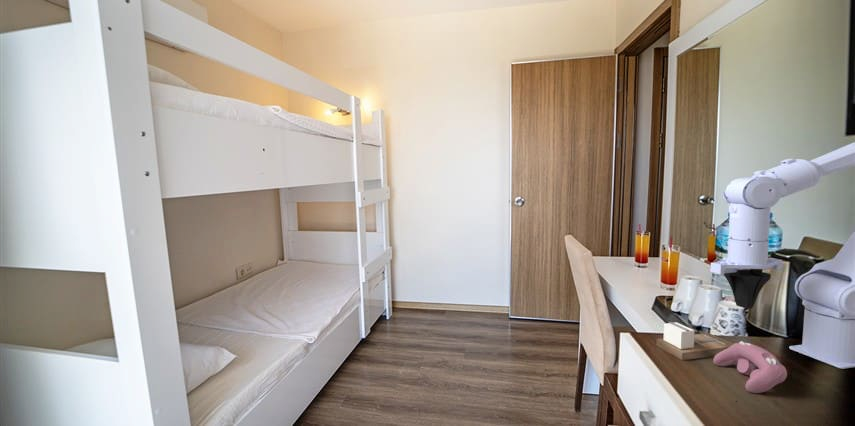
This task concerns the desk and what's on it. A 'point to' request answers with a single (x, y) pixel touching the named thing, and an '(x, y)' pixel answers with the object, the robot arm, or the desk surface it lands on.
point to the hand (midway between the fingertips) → (744, 306)
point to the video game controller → (753, 365)
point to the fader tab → (679, 335)
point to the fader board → (696, 347)
